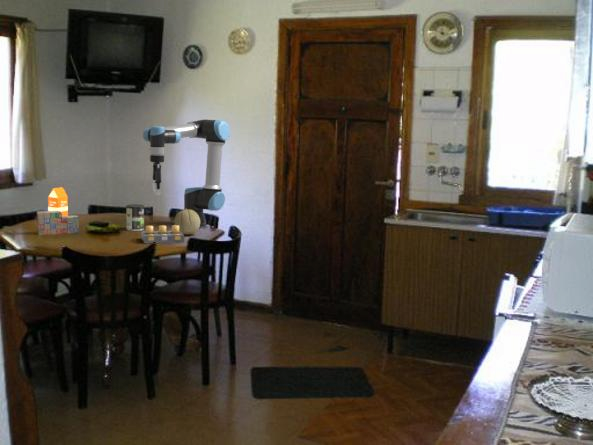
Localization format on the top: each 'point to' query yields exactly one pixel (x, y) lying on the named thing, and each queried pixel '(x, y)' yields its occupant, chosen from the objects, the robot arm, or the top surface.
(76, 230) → the stack of blocks
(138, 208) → the coffee can
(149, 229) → the button
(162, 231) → the button mid
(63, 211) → the orange juice
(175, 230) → the button
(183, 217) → the cantaloupe
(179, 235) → the button board
